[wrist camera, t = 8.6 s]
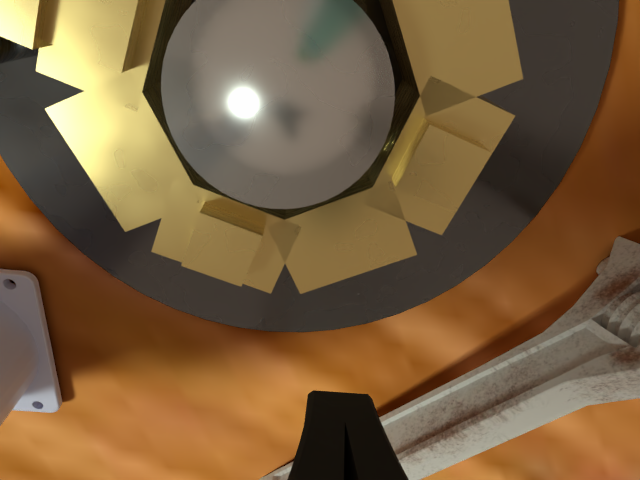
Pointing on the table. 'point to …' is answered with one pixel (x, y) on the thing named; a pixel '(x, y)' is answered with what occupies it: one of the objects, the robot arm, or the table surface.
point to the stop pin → (14, 51)
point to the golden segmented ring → (258, 222)
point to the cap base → (314, 146)
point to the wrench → (529, 378)
